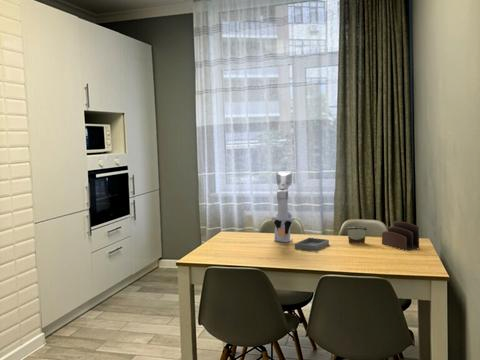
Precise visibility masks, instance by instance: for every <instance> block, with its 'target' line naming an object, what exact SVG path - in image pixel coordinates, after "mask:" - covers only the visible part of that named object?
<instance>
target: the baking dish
mask: <svg viewBox="0 0 480 360" xmlns="http://www.w3.org/2000/svg"><path fill="white" fill-rule="evenodd" d="M329 245H330V240H329V239H324V238H314V237H307V238H304V239H302V240H300V241H297V242H294V249H296V250H304V251H311V252H317V251H318V250H320V249H323V248H325V247H328V246H329Z"/></svg>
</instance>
